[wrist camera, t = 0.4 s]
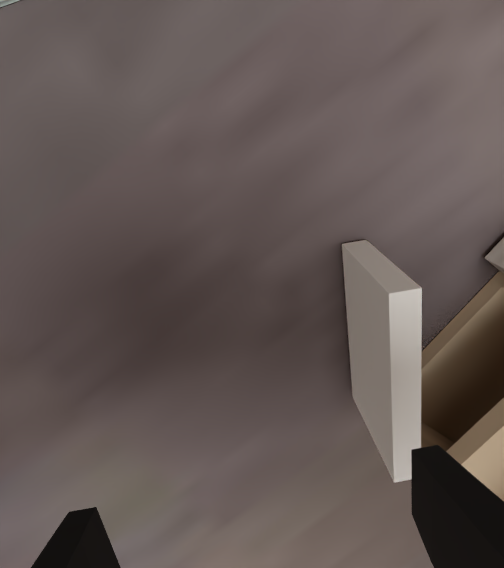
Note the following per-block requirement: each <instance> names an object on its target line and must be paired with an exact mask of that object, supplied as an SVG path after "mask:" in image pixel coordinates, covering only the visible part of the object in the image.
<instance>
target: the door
mask: <svg viewBox="0 0 504 568" xmlns="http://www.w3.org/2000/svg"><path fill="white" fill-rule="evenodd" d="M342 254H343V268H344V283H345V297H346V311H347V325H348V340H349V354H350V368H351V382H352V397H353V399H354V401H355V404H356V406H357V408H358V410H359V412H360V414H361V416H362V418H363V420H364V422H365V424H366V426H367V428H368V430H369V432H370V434H371V436H372V439H373V441H374V443H375V445H376V447H377V449H378V451H379V453H380V455H381V457H382V459H383V461H384V463H385V465H386V467H387V469H388V472H389V474H390V476H391V478H392V480H393V482H394V483H395V482H401V481H406V480H411V479H412V463H411V450H412V449H417V448H421V360H422V288H421V287H420V286H419V285H418V284H417V283H416V282H414V281H413V280H412V279H411V278H410V277H409V276H407V275H406V274H405V273H404V272H403V271H402V270H401V269H399V268H398V267H397V266H396V265H395V264H394V263H392V262H391V261H390V260H389V259H388V258H387V257H386V256H384V255H383V254H382V253H381V252H380V251H379V250H377V249H376V248H375V247H374V246H373V245H372V244H371V243H369V242H368V241H367V240H362V241H356V242H350V243H344V244H342Z"/></svg>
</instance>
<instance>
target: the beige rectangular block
mask: <svg viewBox="0 0 504 568" xmlns="http://www.w3.org/2000/svg"><path fill="white" fill-rule="evenodd" d="M485 259H486V260H487V261H489V262H490V263H491V264H492V265H493V266H495V267H496V268H497V269H498V270H499V272H498V273H497V274H496V275H495V276H494V277H493V278H492V279H491V280H490V281H489V282H488V283H487V284H486V285H485V286H484V287H483V288H482V289H481V290H480V291H479V292H478V293H477V295H476V296H475V297H474V298H473V299H472V300H471V301H470V302H469V303H468V304H467V305H466V306H465V307H464V308H463V309H462V310H461V311H460V312H459V313H458V314H457V315H456V316H455V317H454V318H453V320H452V321H451V322H450V323H449V324H448V325H447V326H446V327H445V328H444V329H443V330H442V331H441V332H440V333H439V334H438V335H437V336H436V337H435V338H434V339H433V340H432V341H431V342H430V344H429V345H428V346H427V347H426V348H425V349H424V350H423V351H422V360H421V448H423V447H428V446H434V445H439V446H440V447H441V448H443V449H444V450H445V451H446V452H447V453H448V454H450V455H451V456H452V457H453V458H454V459H455V460H456V461H457V462H459V463H460V464H461V465H462V466H463V467H464V468H465V469H467V470H468V471H469V472H470V473H471V474H472V475H473V476H475V477H476V478H477V479H478V480H479V481H480V482H482V483H483V484H484V485H485V486H486V487H487V488H489V489H490V490H491V491H492V492H493V493H494V494H496V495H497V496H498V497H499V498H500V499H502V500H503V501H504V237H503V239H502V240H501V241H500V242H499V243H498V244H497V245H496V246H495V247H494V248H493V249H492V250H491V251H490V252H489V253H488V255H487V256H486V257H485Z"/></svg>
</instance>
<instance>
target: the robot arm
mask: <svg viewBox="0 0 504 568" xmlns="http://www.w3.org/2000/svg"><path fill="white" fill-rule="evenodd" d="M411 463H412V515H413V518H414V520H415V523H416V525H417V528H418V530H419V533H420V536H421V538H422V541H423V543H424V545H425V548H426V550H427V553H428V555H429V557H430V560H431V562H432V564H433V566H434V568H504V501H503V500H502V499H500V498H499V497H498V496H497V495H496V494H494V493H493V492H492V491H491V490H490V489H489V488H487V487H486V486H485V485H484V484H483V483H482V482H480V481H479V480H478V479H477V478H476V477H475V476H473V475H472V474H471V473H470V472H469V471H468V470H467V469H465V468H464V467H463V466H462V465H461V464H460V463H459V462H457V461H456V460H455V459H454V458H453V457H452V456H451V455H450V454H448V453H447V452H446V451H445V450H444V449H443V448H441V447H440V446H439V445H434V446H428V447H423V448H417V449H412V450H411ZM31 568H120V565H119V563H118V560H117V558H116V555H115V553H114V550H113V548H112V545H111V543H110V540H109V538H108V535H107V533H106V530H105V528H104V525H103V523H102V520H101V518H100V515H99V513H98V510H97V508H96V507H94V508H88V509H83V510H77V511H72V512H69V513H68V514H67V515H66V517H65V518H64V520H63V521H62V523H61V524H60V526H59V527H58V528H57V530H56V531H55V533H54V534H53V536H52V537H51V539H50V540H49V542H48V543H47V545H46V546H45V548H44V549H43V551H42V552H41V554H40V555H39V557H38V558H37V560H36V561H35V562H34V564H33V565H32V567H31Z"/></svg>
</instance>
